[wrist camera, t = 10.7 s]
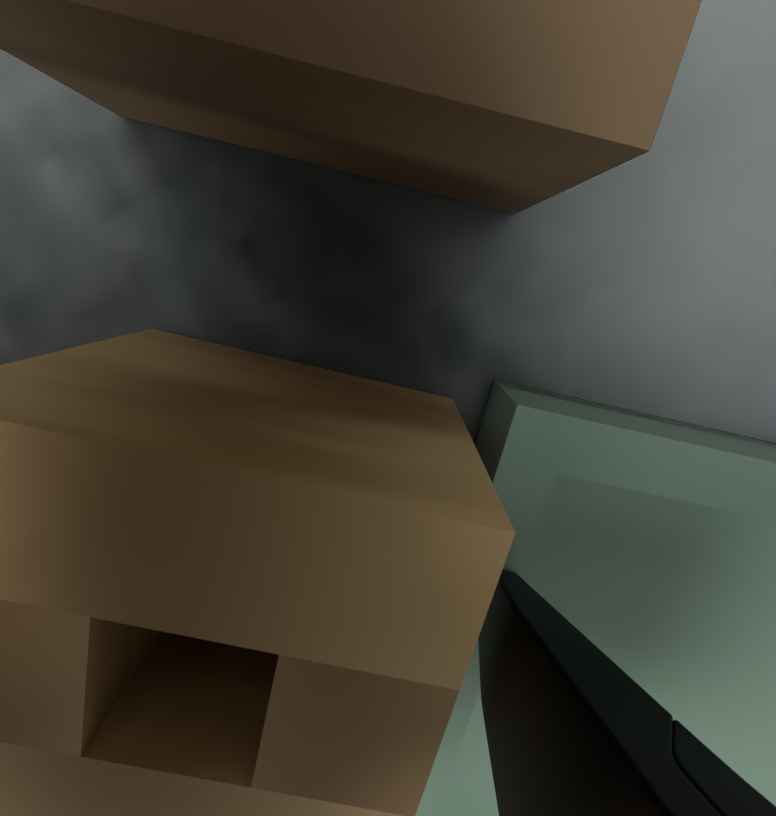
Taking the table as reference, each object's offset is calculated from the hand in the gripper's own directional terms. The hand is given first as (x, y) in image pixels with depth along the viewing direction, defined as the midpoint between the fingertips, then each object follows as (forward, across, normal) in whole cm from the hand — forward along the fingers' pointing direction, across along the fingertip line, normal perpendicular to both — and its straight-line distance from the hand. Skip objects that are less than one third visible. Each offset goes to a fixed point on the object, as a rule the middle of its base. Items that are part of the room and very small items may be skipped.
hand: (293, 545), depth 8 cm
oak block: (+2, +1, 0) cm, 2 cm away
